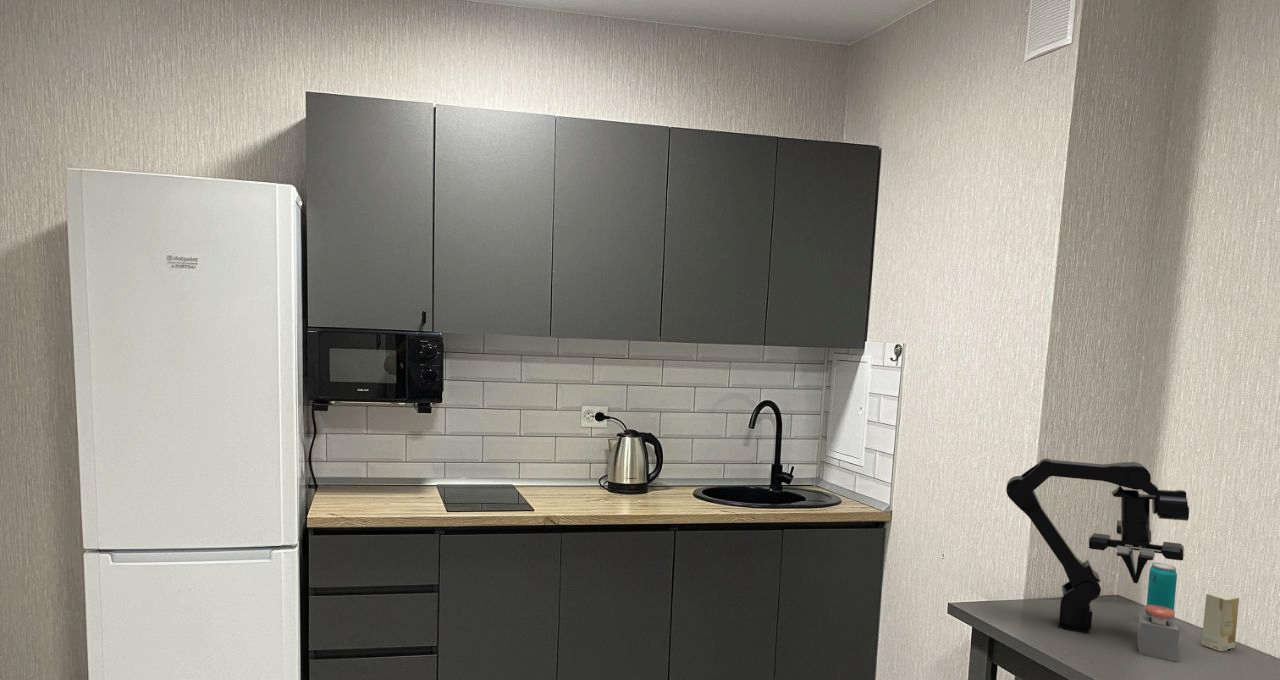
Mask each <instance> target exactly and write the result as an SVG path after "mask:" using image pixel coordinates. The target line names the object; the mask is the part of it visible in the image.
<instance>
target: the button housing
mask: <svg viewBox="0 0 1280 680" xmlns="http://www.w3.org/2000/svg"><path fill="white" fill-rule="evenodd" d="M1151 621H1152V616H1149V615H1146V614H1143V613H1138V626H1137V627H1138V628H1137V637H1136V645H1137V649H1138V653H1140V655H1144V656H1149V657H1153V658H1159V659H1163V660H1168V661H1172V662H1176V663H1177V661H1178V652H1179V650H1178V649H1179V641H1180V639H1179V638H1180V629H1179V626H1178V624H1177V621H1176V620H1174V619H1173V620H1169V619H1167V621H1166V625H1162V624H1157V623H1152V622H1151Z"/></svg>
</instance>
